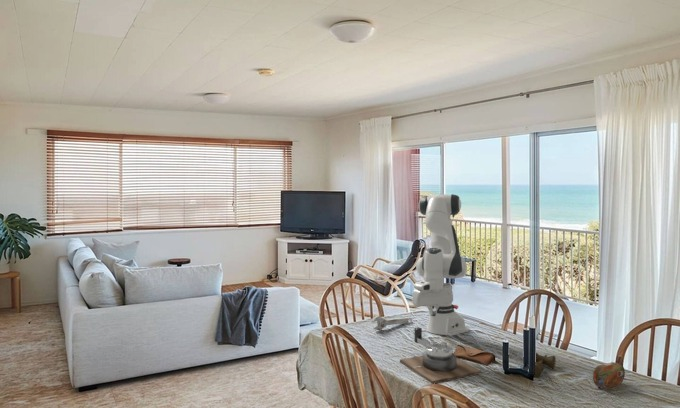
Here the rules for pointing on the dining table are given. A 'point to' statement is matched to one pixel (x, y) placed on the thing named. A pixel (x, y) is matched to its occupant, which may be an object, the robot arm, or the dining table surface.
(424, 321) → the dining table surface
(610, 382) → the mottled orange oval
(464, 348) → the sunglasses case
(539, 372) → the kendama
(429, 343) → the grey crank handle
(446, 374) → the square wooden board
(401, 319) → the wrench
